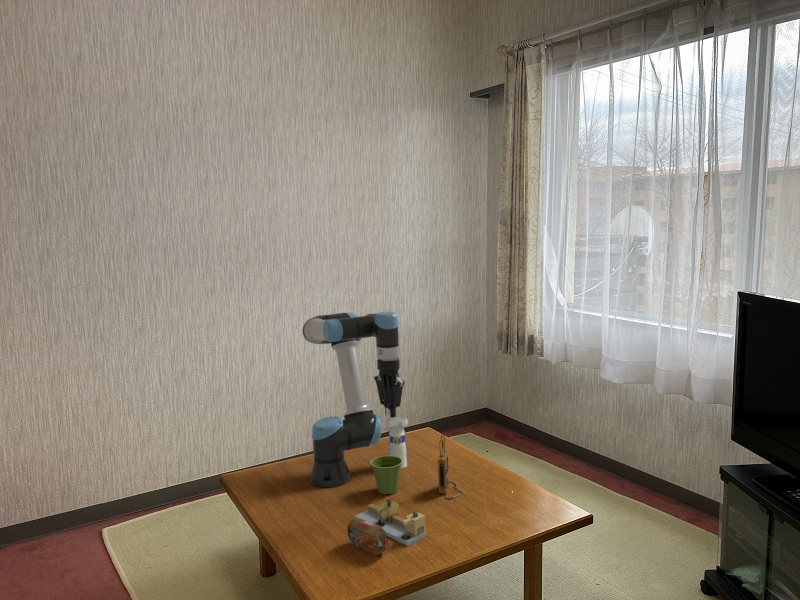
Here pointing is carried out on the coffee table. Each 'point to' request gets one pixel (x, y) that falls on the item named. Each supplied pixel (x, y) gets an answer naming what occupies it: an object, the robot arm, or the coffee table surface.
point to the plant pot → (387, 473)
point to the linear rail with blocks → (398, 525)
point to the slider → (387, 511)
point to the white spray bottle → (398, 440)
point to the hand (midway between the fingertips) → (391, 425)
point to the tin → (367, 536)
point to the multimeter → (444, 472)
